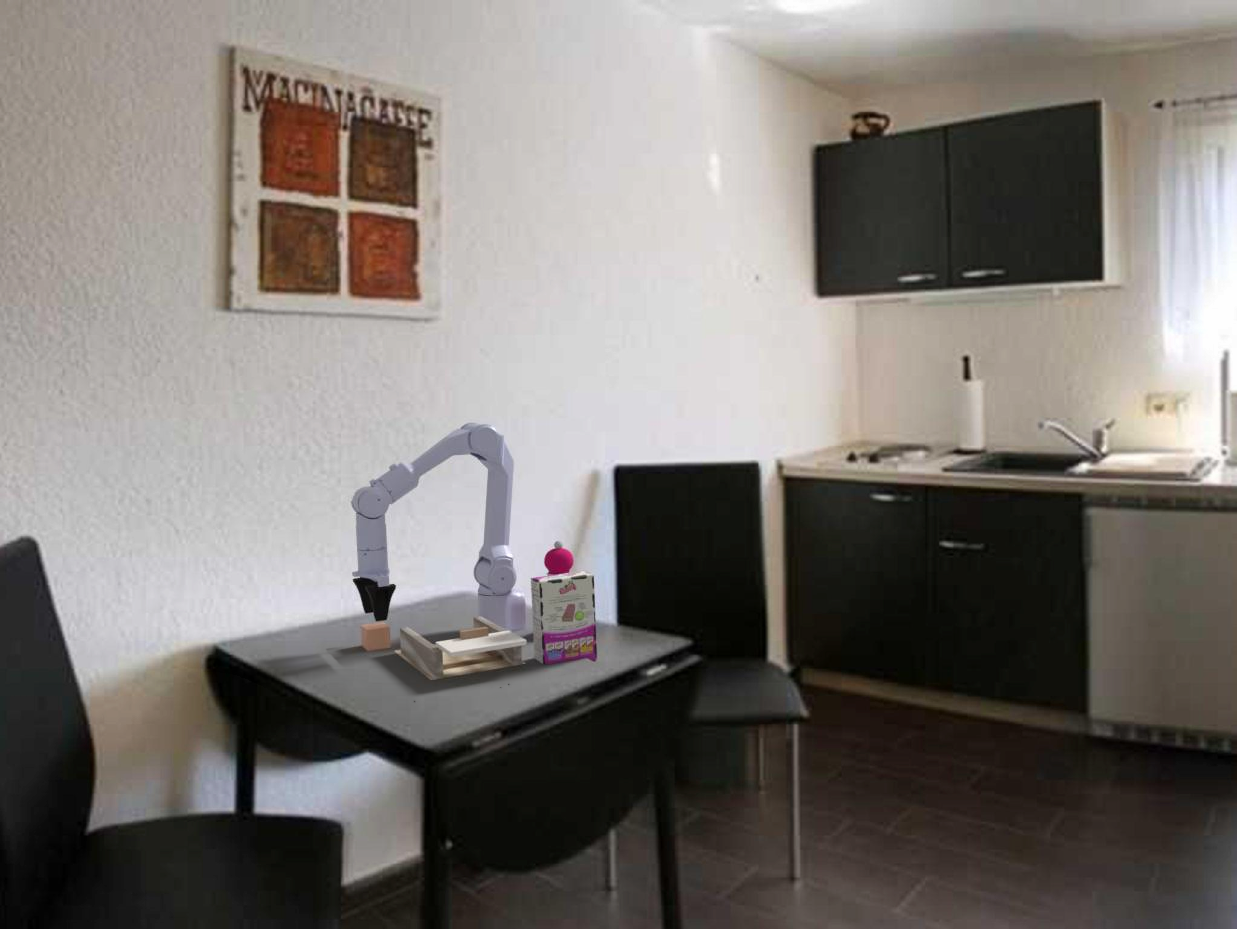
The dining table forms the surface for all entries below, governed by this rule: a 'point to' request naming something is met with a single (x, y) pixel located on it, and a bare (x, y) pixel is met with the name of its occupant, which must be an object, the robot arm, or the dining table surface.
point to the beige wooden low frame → (444, 666)
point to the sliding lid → (479, 642)
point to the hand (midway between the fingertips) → (375, 616)
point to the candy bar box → (564, 617)
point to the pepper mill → (558, 560)
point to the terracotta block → (375, 636)
